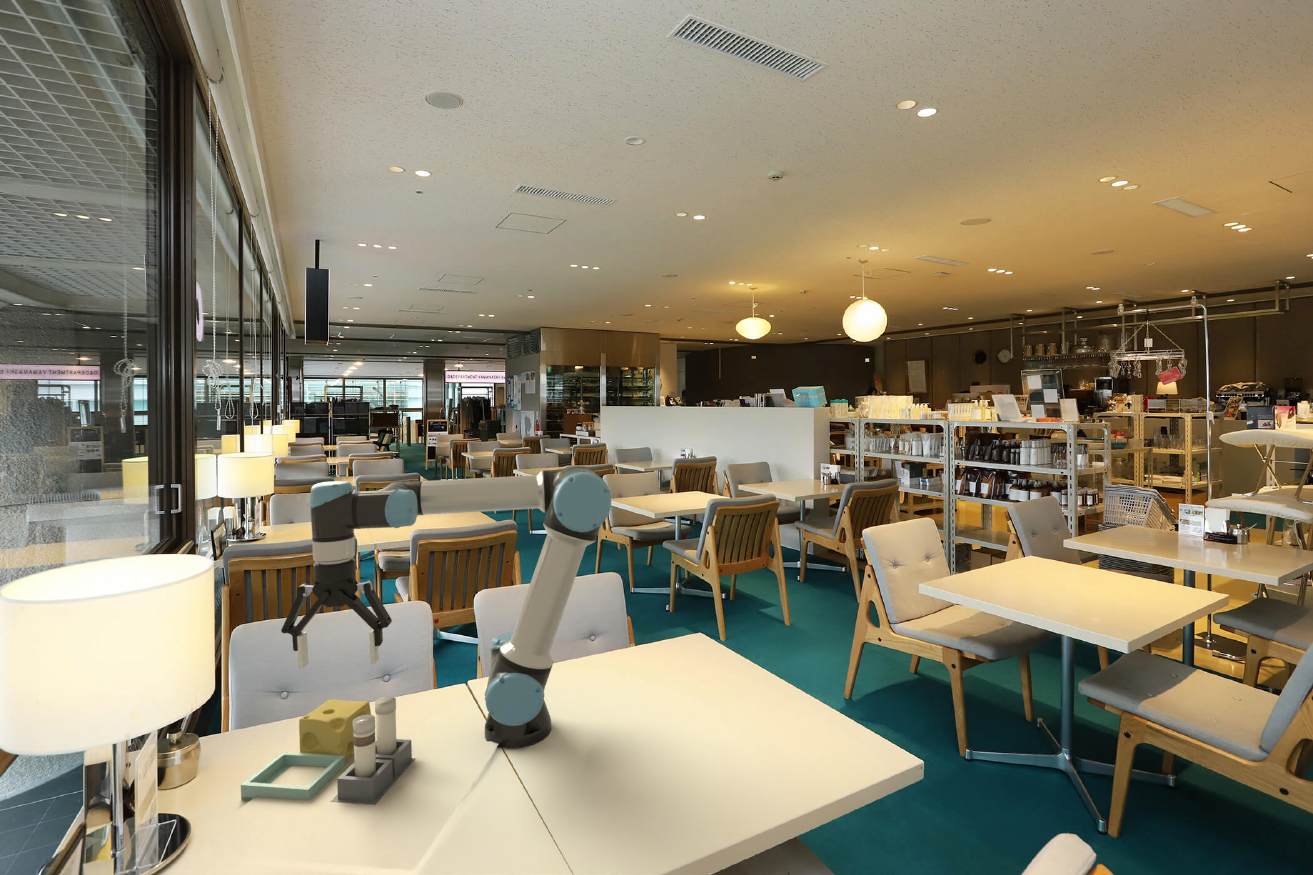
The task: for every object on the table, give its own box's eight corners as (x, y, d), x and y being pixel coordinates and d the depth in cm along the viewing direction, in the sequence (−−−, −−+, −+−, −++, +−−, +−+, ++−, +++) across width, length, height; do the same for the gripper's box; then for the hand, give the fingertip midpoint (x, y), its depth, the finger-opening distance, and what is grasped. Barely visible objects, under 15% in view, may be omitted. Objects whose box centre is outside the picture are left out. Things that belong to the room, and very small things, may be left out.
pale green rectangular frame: (345, 769, 137) (345, 755, 137) (308, 804, 125) (308, 789, 125) (283, 765, 139) (282, 751, 138) (241, 799, 127) (240, 784, 127)
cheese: (341, 769, 137) (340, 723, 137) (296, 763, 139) (295, 718, 139) (372, 743, 147) (371, 700, 147) (330, 738, 150) (329, 696, 149)
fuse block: (415, 762, 139) (414, 694, 139) (375, 809, 124) (373, 732, 123) (376, 760, 140) (374, 692, 140) (330, 806, 125) (328, 729, 124)
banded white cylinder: (381, 783, 130) (379, 715, 129) (370, 795, 126) (367, 725, 125) (362, 782, 131) (360, 714, 130) (350, 794, 127) (348, 723, 126)
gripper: (404, 552, 136) (408, 652, 137) (276, 557, 132) (281, 660, 134) (394, 561, 128) (398, 667, 129) (258, 567, 125) (264, 675, 126)
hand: (339, 663), depth 132 cm, fingers open, 13 cm apart
